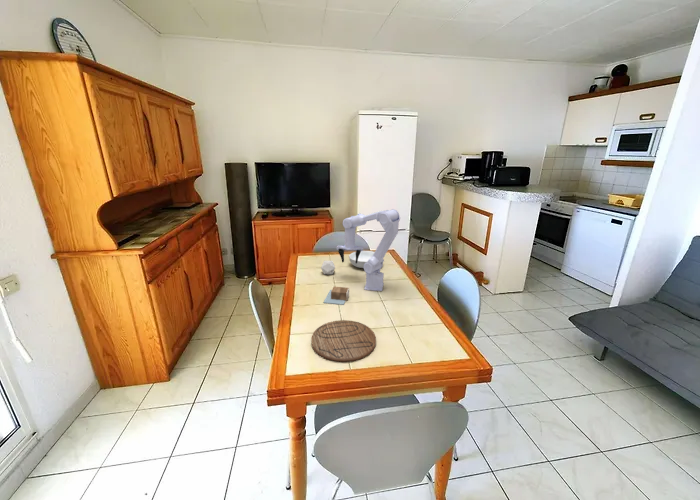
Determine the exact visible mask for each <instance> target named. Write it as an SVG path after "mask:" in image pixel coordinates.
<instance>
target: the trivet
mask: <svg viewBox="0 0 700 500" xmlns="http://www.w3.org/2000/svg"><path fill="white" fill-rule="evenodd" d="M310 341H311V347H312V350H313V352H314V353H316V354H317V355H318V357H320V358H323V359H324V360H327V361H330V362H334V363H351V362H356V361H360V360H363V359H364V358H367V357H368V356H369V355H370V354H372V352H374V349H375V348H376V345H377V344H376V341H377V336H376V334H375V332H374V331H373V330H372V329H371V327H369V326H367V325H366V324H364V323H361V322H360V321H354V320H345V319H342V320H333V321H330V322H326V323H324V324H322V325H320V326H319V327H317V328H316V329H315V330H314V331H313V332H312V334H311V339H310Z"/></svg>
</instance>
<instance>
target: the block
mask: <svg viewBox="0 0 700 500" xmlns="http://www.w3.org/2000/svg"><path fill="white" fill-rule="evenodd" d="M331 290H332V291H331V299H336V300H346V301H348V299H349V297H350V287H346V286H345V287H344V286H333V287H332V289H331Z"/></svg>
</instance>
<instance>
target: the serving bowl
mask: <svg viewBox="0 0 700 500" xmlns="http://www.w3.org/2000/svg"><path fill="white" fill-rule="evenodd" d="M374 253H375V251H372V250H363V251H361V252H360V255H359V257H358V261H357V263H356V251H353V252H351V253H350V254H349V255H348V258H349V262H350V263H351V264H352V266H354V267H355V268H361V269H364V264H365V263H366V262H367V261H368V260H369V259H370V258H371V257H372V256H373V254H374Z"/></svg>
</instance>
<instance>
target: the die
mask: <svg viewBox="0 0 700 500" xmlns="http://www.w3.org/2000/svg"><path fill="white" fill-rule="evenodd" d="M320 268H321V270H322V273H323V275H326V276H327V275H331V276H332V275H334V272H335V269H336V266H335V263H334V261H333V260H323V262H322V265H321V267H320Z"/></svg>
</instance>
